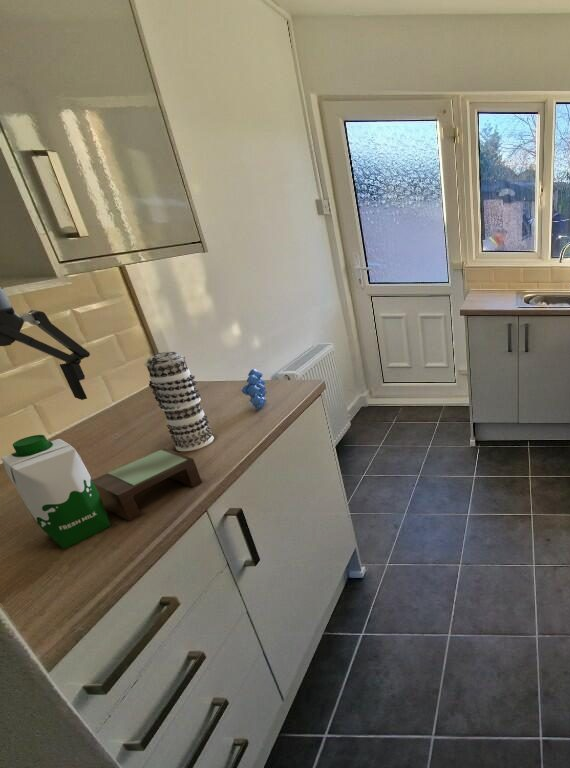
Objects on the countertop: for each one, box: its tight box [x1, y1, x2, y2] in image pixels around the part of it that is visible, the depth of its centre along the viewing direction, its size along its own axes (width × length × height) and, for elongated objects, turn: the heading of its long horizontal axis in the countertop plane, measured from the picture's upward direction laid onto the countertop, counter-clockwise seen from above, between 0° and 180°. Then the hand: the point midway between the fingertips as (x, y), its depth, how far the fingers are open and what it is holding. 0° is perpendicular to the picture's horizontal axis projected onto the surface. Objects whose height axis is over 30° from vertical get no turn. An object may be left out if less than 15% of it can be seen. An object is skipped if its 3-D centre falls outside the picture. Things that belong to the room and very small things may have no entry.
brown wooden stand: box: [92, 447, 203, 522], centre depth 90 cm, size 11×14×7 cm
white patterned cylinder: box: [143, 351, 215, 452], centre depth 106 cm, size 9×9×25 cm
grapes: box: [241, 368, 268, 410], centre depth 129 cm, size 12×7×12 cm, turn 19°
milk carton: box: [0, 434, 112, 550], centre depth 77 cm, size 9×9×20 cm
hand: (29, 413), depth 71 cm, fingers open, 13 cm apart
